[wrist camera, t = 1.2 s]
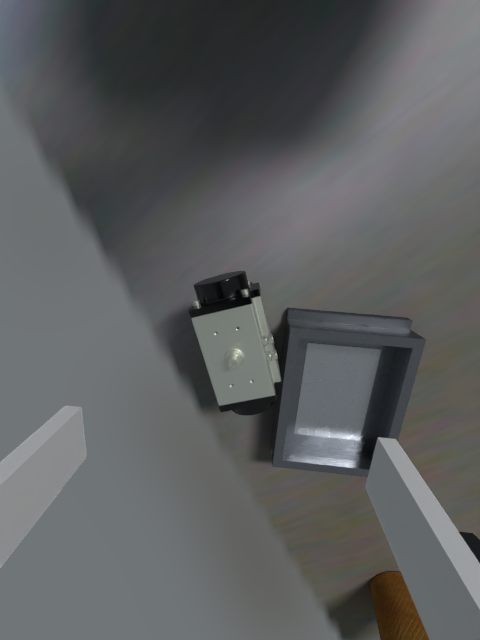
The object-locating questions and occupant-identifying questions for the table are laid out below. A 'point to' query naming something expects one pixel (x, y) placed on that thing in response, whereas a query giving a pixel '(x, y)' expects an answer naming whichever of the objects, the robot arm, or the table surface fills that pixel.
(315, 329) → the rectangular open-top bin
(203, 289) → the pneumatic valve
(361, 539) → the table surface
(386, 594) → the disposable coffee cup
